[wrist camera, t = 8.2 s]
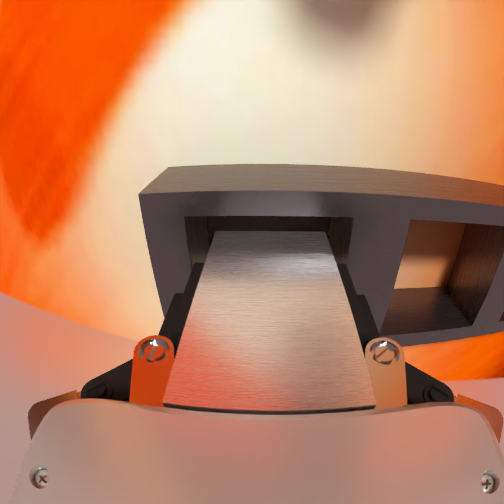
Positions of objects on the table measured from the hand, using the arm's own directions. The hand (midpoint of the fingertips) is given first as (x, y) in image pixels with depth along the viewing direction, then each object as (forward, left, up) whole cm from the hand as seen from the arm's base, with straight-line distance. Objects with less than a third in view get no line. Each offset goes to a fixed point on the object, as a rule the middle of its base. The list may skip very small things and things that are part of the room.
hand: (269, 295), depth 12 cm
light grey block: (0, 0, -1) cm, 1 cm away
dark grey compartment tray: (-9, 0, -5) cm, 10 cm away
